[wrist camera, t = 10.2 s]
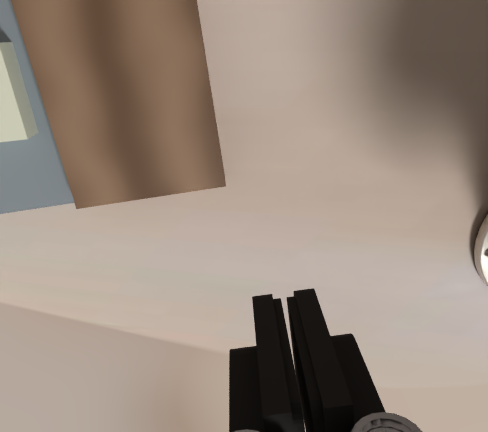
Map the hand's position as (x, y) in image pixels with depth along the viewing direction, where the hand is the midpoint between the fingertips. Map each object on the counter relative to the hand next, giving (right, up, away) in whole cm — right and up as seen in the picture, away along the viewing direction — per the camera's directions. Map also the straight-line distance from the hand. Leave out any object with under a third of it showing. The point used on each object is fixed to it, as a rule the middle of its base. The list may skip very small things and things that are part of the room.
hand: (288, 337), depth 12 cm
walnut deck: (-9, +13, +19) cm, 25 cm away
